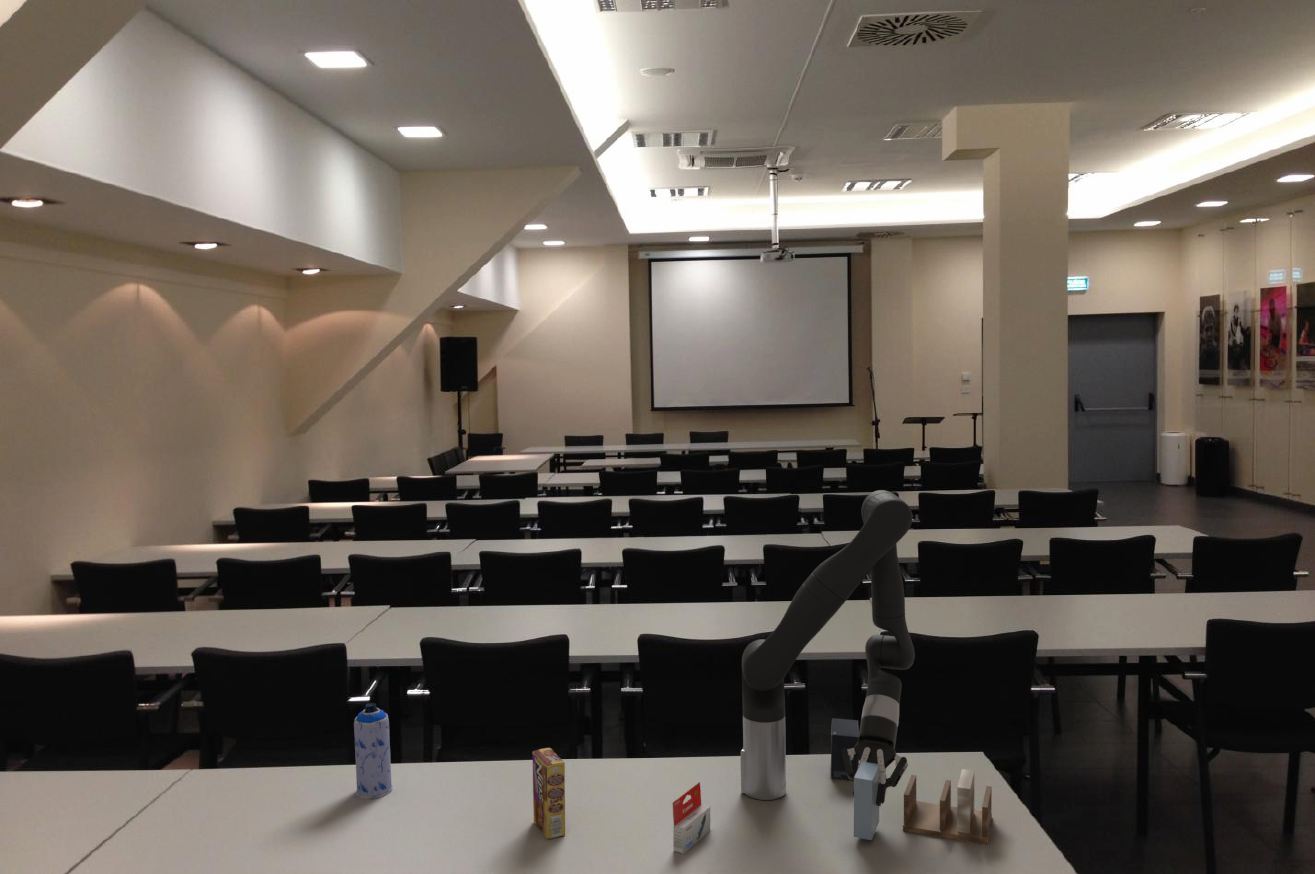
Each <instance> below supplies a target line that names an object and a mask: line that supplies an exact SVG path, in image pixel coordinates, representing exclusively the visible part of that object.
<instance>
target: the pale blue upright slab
mask: <svg viewBox="0 0 1315 874" xmlns="http://www.w3.org/2000/svg"><path fill="white" fill-rule="evenodd" d="M879 776H880V764H875V763H868V762H862V763H861V765H860V767H859V769H858V771H857V773H856V775H855V777H854V781H853V788H854V797H853V838H859V839H862V840H869V841H873V838H874V835H875V834H876V831H877V828H878V825H879V822H880V806H877V804H876V798H877V791H878V784H880V778H879Z"/></svg>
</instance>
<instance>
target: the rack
mask: <svg viewBox="0 0 1315 874" xmlns="http://www.w3.org/2000/svg"><path fill="white" fill-rule="evenodd" d="M992 787H993V786H991V785H990V786H989V785H986V787H985V791H984V795H983V801H982V805H981V806H982V807H981V810H976V809H975V770H971V769H965V768H962V769H961V772H960V777H959V781H958V783H957V786H956V788H957V789H956V794H957V796H956V798H957V799H956V801H957V802H956V804H957V806H952V780H950V779H945V781H944V785H943V788H942V791H941V795H940V798H939V804H938V803H933V802H932V803H931V802H926V801H920V800H917V775H916V774H911V775H910V778H909V780H908V783H907V785H906V788H905V791H904V793H903V824H902V830H903V831H905V832H910V833H915V834H916V833H917V834H922V835H927V836H935V837H939V838H945V839H951V840H957V841H963V842H969V843H974V844H980V845H985V846H986V845H988V841H989V835H990V832H991V831H990V829H991V825H990V824H991V823H992V820H991V819H992V818H993V813H992V809H993V808H992V806H993V805H992V804H993V803H992V799H993V798H992V797H993V796H992V793H993V792H992V791H993V790H992Z"/></svg>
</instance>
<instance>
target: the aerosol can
mask: <svg viewBox="0 0 1315 874" xmlns="http://www.w3.org/2000/svg"><path fill="white" fill-rule="evenodd" d="M353 728H354V729H353V732H354V751H355V752H354V753H355V755H354V756H355V757H354V758H355V774H356V776H355V777H356V792H355V793H356V794H355V795H356V796H357V797H359V798H360V799H365V800H371V799H377V798H383V797H385V796H387V795H389V794H390V793H391V792H392V791H393V785H392V765H391V763H392V762H391V761H392V760H391V746H390V744H391V743H390V740H391V739H390V738H391V737H390V721H389V715H388V713H386V712H385V711H384V710H383V709H380V708H378V707H377V703H375V702H368V703H366V704H365V709H363V710H362V711H360V712H359V713H358V714H357V716H356V717H355V718H354V722H353Z"/></svg>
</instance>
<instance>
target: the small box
mask: <svg viewBox="0 0 1315 874" xmlns="http://www.w3.org/2000/svg"><path fill="white" fill-rule="evenodd" d="M859 731H860V727H859V720H858V719H857V720H856V719H844V718H833V717H832V718H831V730H830V779H832V780H833V779H834V780H848V781H850V780H849V779H848V776H847V773H846V769H845V764H844V760H843V755H842V751H841V750H842V748H847V749H851V748H854V747H855V745H856V744H857V742H858V737H859ZM850 762H851V766H852V770H853V772H854V773H856V772H857V769H858V765H859V763H860V761H859V759H858V757H857V755H856V754H854V755H853V759H852V760H850Z"/></svg>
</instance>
